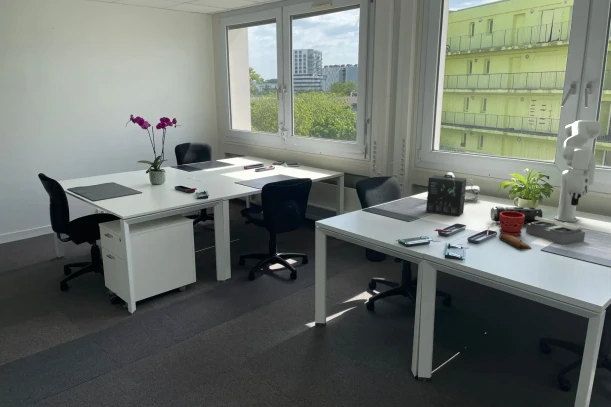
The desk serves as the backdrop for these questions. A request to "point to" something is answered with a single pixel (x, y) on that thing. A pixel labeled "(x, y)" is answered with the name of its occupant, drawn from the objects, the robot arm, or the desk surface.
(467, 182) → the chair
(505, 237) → the brown pointed cylinder
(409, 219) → the desk surface
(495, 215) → the muzzle brake
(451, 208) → the headset box
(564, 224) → the rocker
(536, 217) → the plate
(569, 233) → the panel
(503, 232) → the plant pot
